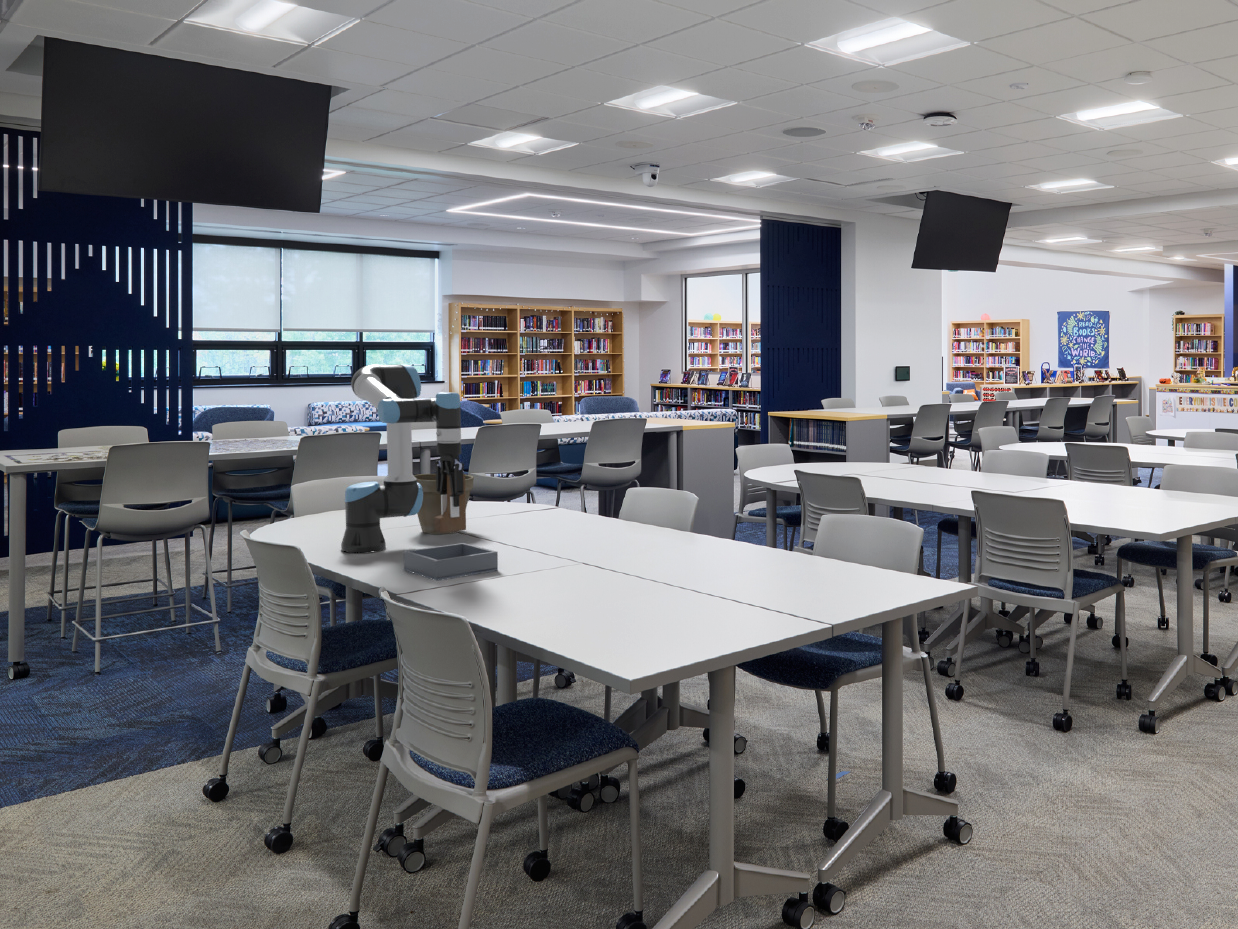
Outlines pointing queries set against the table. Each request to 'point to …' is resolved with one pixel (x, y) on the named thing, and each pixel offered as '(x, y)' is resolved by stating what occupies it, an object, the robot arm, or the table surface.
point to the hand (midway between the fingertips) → (450, 515)
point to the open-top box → (450, 561)
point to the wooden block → (445, 520)
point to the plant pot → (435, 501)
